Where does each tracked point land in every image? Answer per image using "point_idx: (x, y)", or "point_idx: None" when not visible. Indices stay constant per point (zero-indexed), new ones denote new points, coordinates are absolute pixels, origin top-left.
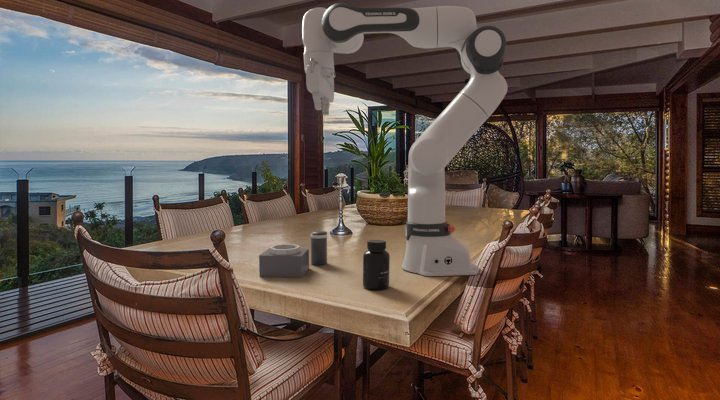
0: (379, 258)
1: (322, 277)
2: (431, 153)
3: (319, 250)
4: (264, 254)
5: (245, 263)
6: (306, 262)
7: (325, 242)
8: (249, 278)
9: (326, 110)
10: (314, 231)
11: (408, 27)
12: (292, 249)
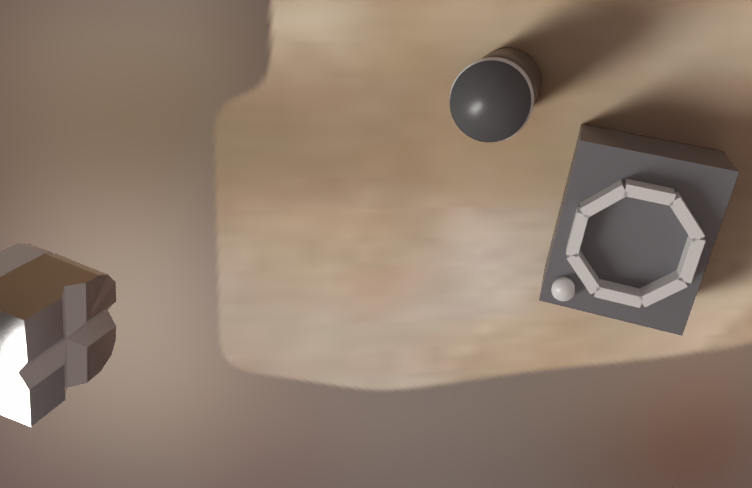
0: None
1: (740, 68)
2: None
3: (536, 88)
4: (667, 316)
5: (468, 353)
6: (631, 140)
7: (519, 63)
8: (692, 331)
9: (55, 328)
10: (461, 123)
11: None
12: (691, 215)
